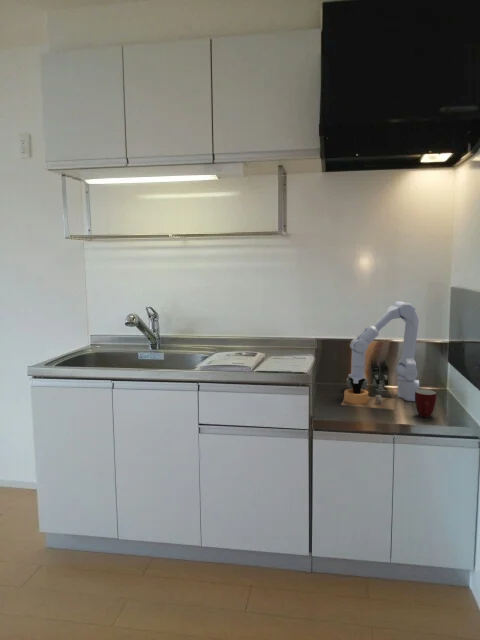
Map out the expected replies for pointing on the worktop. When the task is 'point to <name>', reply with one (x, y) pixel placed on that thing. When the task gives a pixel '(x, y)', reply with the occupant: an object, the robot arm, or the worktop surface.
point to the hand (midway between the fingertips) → (357, 395)
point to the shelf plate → (375, 403)
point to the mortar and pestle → (351, 384)
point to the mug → (425, 402)
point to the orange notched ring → (356, 396)
